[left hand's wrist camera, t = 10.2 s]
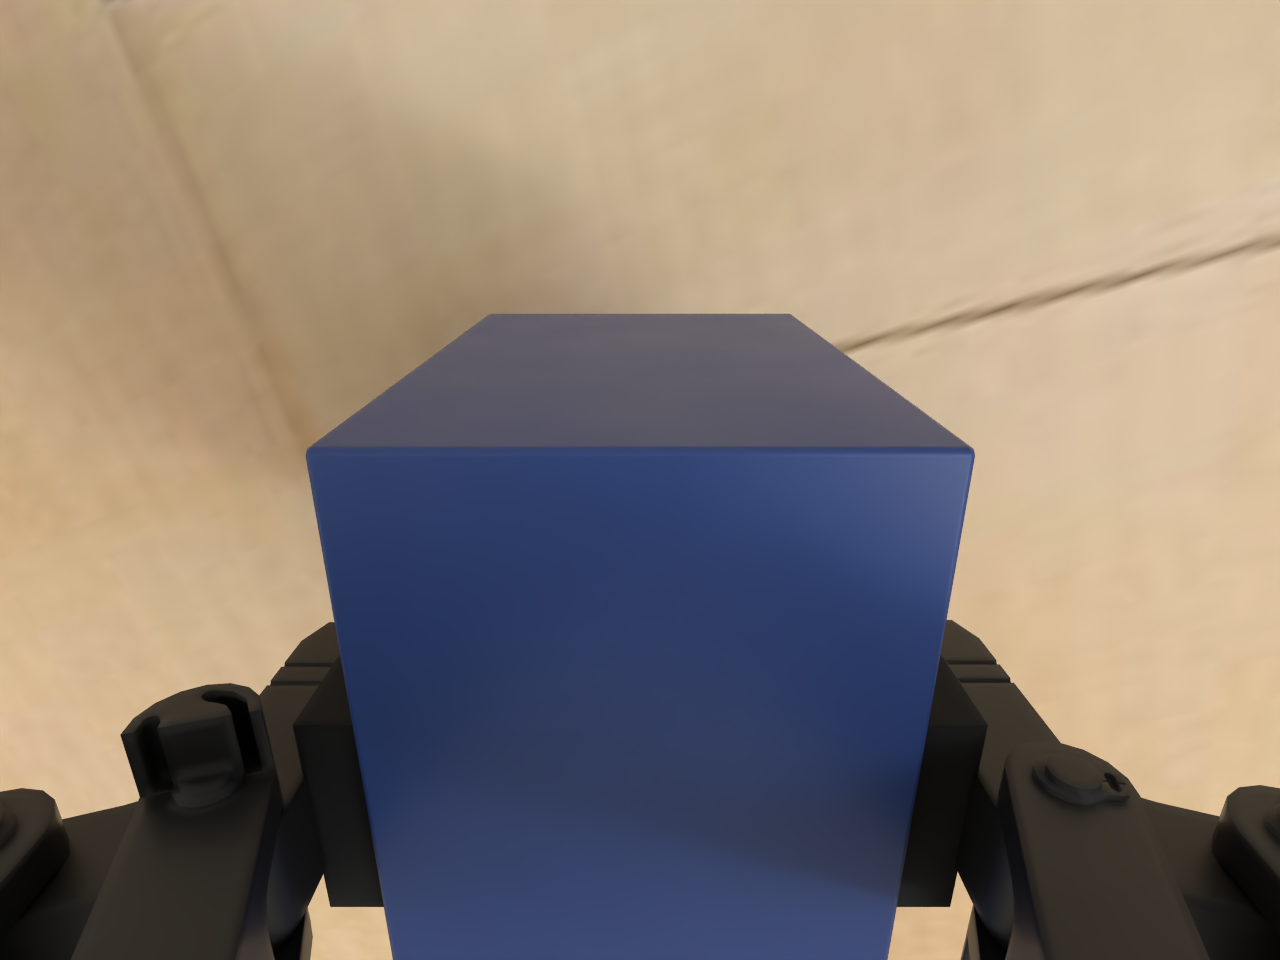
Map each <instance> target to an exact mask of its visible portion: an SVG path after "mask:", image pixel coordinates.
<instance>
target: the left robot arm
mask: <svg viewBox="0 0 1280 960" xmlns="http://www.w3.org/2000/svg"><path fill="white" fill-rule="evenodd" d="M121 738H122V741H123V744H124V748H125V751H126V754H127V757H128V760H129V764H130V767H131V770H132V773H133V776H134V779H135V783H136V786H137V789H138V792H139V795H140V798H139V801H137V802H134V803H131V804H127V805H124V806H119V807H115V808H110V809H106V810H102V811H97V812H93V813H88V814H84V815H80V816H75V817H71V818H66V819H62V818H61V816H60V813H59V810H58V807H57V805H56V802H55V800H54V799H53V798H52V797H51V796H49V795H48V794H47V793H45V792H44V791H43V790H33V789H24V788H20V789H15V790H9V791H3V792H0V960H310V956H311V947H312V938H313V936H312V929H311V921H310V916H309V912H308V908H307V907H308V905H309V903H310V901H311V899H312V897H313V895H314V892H315V890H316V888H317V886H318V884H319V882H320V880H321V878H322V875H323V873H324V878H325V883H326V888H327V893H328V897H329V902H330V907H384V904H383V898H382V893H381V887H380V881H379V875H378V870H377V864H376V858H375V852H374V847H373V841H372V835H371V829H370V823H369V818H368V812H367V806H366V800H365V795H364V789H363V783H362V777H361V771H360V766H359V760H358V754H357V748H356V743H355V737H354V731H353V725H352V719H351V714H350V708H349V702H348V696H347V691H346V685H345V679H344V673H343V667H342V662H341V656H340V650H339V644H338V639H337V633H336V627H335V622H329V623H328V624H326V625H325V626H323V627H322V628H320V629H319V630H317V631H316V632H314V633H313V634H311V635H310V636H308V637H307V638H305V639H304V640H302V641H301V642H300V644H299V645H298V646H297V648H296V649H295V650H294V651H293V653H292V654H291V655H290V657H289V658H288V659H287V660H286V662H285V666H284V667H281V668H280V670H279V671H278V672H277V673H276V675H275V676H274V677H273V679H272V680H271V684H270V685H267V686H266V688H265V689H264V690H263V691H262V693H261V694H260V695H258V694H257V693H255V692H254V691H253V690H252V689H251V688H249V687H245V686H241V685H236V684H231V683H229V684H213V685H205V686H201V687H197V688H193V689H189V690H186V691H182V692H179V693H177V694H175V695H172V696H170V697H168V698H166V699H164V700H161V701H159V702H157V703H155V704H153V705H152V706H151V707H149V708H148V709H146V710H145V711H143V712H142V713H141V714H139V715H138V716H136V717H135V718H134V719H133V720H132V721H131V722H130V724H129V725H128V726H127V727H126V729H125V730H124V731H123V732H122V733H121ZM957 871H958V873H959V875H960V877H961V879H962V881H963V883H964V886H965V888H966V890H967V892H968V894H969V896H970V898H971V900H972V902H973V908H972V912H971V916H970V921H969V925H968V930H967V934H966V939H965V943H964V947H963V952H962V956H961V960H1280V788H1274V787H1268V786H1262V785H1257V786H1248V787H1239V788H1238V789H1236V790H1235V791H1234V792H1232V793H1231V794H1230V795H1229V796H1227V798H1226V801H1225V804H1224V807H1223V809H1222V812H1221V815H1220V817H1219V816H1215V815H1210V814H1206V813H1201V812H1197V811H1193V810H1188V809H1184V808H1179V807H1175V806H1171V805H1166V804H1162V803H1157V802H1154V801H1150V800H1147V799H1144V798H1141V797H1140V795H1139V794H1138V792H1137V791H1136V789H1135V788H1134V787H1133V785H1132V784H1131V782H1130V781H1129V779H1128V778H1127V777H1125V776H1124V775H1123V774H1122V773H1120V772H1119V771H1118V770H1117V769H1115V768H1114V767H1113V766H1112V765H1110V764H1109V763H1108V762H1106V761H1104V760H1102V759H1100V758H1098V757H1096V756H1094V755H1092V754H1091V753H1089V752H1087V751H1085V750H1082V749H1079V748H1075V747H1072V746H1069V745H1065V744H1062V743H1060V741H1059V740H1058V739H1057V738H1056V736H1055V735H1054V734H1053V732H1052V731H1051V730H1050V729H1049V727H1048V726H1047V725H1046V724H1045V722H1044V721H1043V720H1042V718H1041V717H1040V716H1039V715H1038V713H1037V712H1036V711H1035V709H1034V708H1033V707H1032V706H1031V704H1030V703H1029V702H1028V700H1027V699H1026V698H1025V697H1024V695H1023V694H1022V693H1021V691H1020V690H1019V689H1018V688H1017V686H1016V685H1015V684H1014V683H1011V682H1010V677H1009V676H1008V675H1007V673H1006V672H1005V671H1004V670H1003V668H1002V667H1001V666H1000V665H997V664H996V659H995V658H994V657H993V655H992V654H991V653H990V652H989V650H988V649H987V648H986V646H985V645H984V644H983V643H982V641H981V640H980V639H979V638H978V637H976V636H975V635H973V634H972V633H970V632H969V631H967V630H966V629H964V628H963V627H961V626H960V625H958V624H957V623H955V622H954V621H952V620H946V625H945V631H944V636H943V642H942V648H941V654H940V659H939V665H938V671H937V677H936V682H935V688H934V694H933V700H932V705H931V711H930V717H929V723H928V729H927V734H926V740H925V746H924V752H923V757H922V763H921V769H920V775H919V780H918V786H917V792H916V798H915V803H914V809H913V815H912V821H911V826H910V832H909V838H908V844H907V849H906V855H905V861H904V867H903V873H902V878H901V884H900V890H899V896H898V901H897V907H950V904H951V900H952V895H953V890H954V885H955V881H956V876H957Z"/></svg>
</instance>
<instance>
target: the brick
mask: <svg viewBox="0 0 1280 960" xmlns="http://www.w3.org/2000/svg"><path fill="white" fill-rule="evenodd" d="M974 458H975V453H974V450H973V448H972V447H970V446H969V445H968V444H966V443H965V442H963V441H962V440H961V439H959V438H958V437H957V436H955V435H954V434H953V433H951V432H950V431H949V430H947V429H946V428H944V427H943V426H942V425H940V424H939V423H938V422H936V421H935V420H934V419H932V418H931V417H929V416H928V415H927V414H925V413H924V412H923V411H921V410H920V409H919V408H917V407H916V406H915V405H913V404H912V403H910V402H909V401H908V400H906V399H905V398H904V397H902V396H901V395H900V394H898V393H897V392H895V391H894V390H893V389H891V388H890V387H889V386H887V385H886V384H885V383H883V382H882V381H881V380H879V379H878V378H876V377H875V376H874V375H872V374H871V373H870V372H868V371H867V370H866V369H864V368H863V367H861V366H860V365H859V364H857V363H856V362H855V361H853V360H852V359H851V358H849V357H848V356H847V355H845V354H844V353H842V352H841V351H840V350H838V349H837V348H836V347H834V346H833V345H832V344H830V343H829V342H827V341H826V340H825V339H823V338H822V337H821V336H819V335H818V334H817V333H815V332H814V331H813V330H811V329H810V328H808V327H807V326H806V325H804V324H803V323H802V322H800V321H799V320H798V319H796V318H795V317H793V316H792V315H790V314H490V315H488V316H487V317H485V318H484V319H483V320H481V321H480V322H479V323H477V324H476V325H475V326H473V327H472V328H471V329H469V330H468V331H466V332H465V333H464V334H462V335H461V336H460V337H458V338H457V339H456V340H454V341H453V342H452V343H450V344H449V345H447V346H446V347H445V348H443V349H442V350H441V351H439V352H438V353H437V354H435V355H434V356H433V357H431V358H430V359H428V360H427V361H426V362H424V363H423V364H422V365H420V366H419V367H418V368H416V369H415V370H414V371H412V372H411V373H409V374H408V375H407V376H405V377H404V378H403V379H401V380H400V381H399V382H397V383H396V384H395V385H393V386H392V387H390V388H389V389H388V390H386V391H385V392H384V393H382V394H381V395H380V396H378V397H377V398H376V399H374V400H373V401H371V402H370V403H369V404H367V405H366V406H365V407H363V408H362V409H361V410H359V411H358V412H357V413H355V414H354V415H352V416H351V417H350V418H348V419H347V420H346V421H344V422H343V423H342V424H340V425H339V426H338V427H336V428H335V429H333V430H332V431H331V432H329V433H328V434H327V435H325V436H324V437H323V438H321V439H320V440H318V441H317V442H316V443H314V444H313V445H312V446H310V447H309V448H308V449H307V452H306V460H307V465H308V471H309V477H310V483H311V488H312V494H313V500H314V506H315V512H316V517H317V523H318V529H319V535H320V540H321V546H322V552H323V558H324V564H325V569H326V575H327V581H328V587H329V592H330V598H331V604H332V610H333V616H334V621H335V627H336V633H337V639H338V644H339V650H340V656H341V662H342V667H343V673H344V679H345V685H346V691H347V696H348V702H349V708H350V714H351V719H352V725H353V731H354V737H355V743H356V748H357V754H358V760H359V766H360V771H361V777H362V783H363V789H364V795H365V800H366V806H367V812H368V818H369V823H370V829H371V835H372V841H373V847H374V852H375V858H376V864H377V870H378V875H379V881H380V887H381V893H382V898H383V904H384V910H385V916H386V922H387V927H388V933H389V939H390V945H391V950H392V956H393V960H887V959H888V953H889V947H890V942H891V936H892V930H893V924H894V919H895V913H896V907H897V901H898V896H899V890H900V884H901V878H902V873H903V867H904V861H905V855H906V849H907V844H908V838H909V832H910V826H911V821H912V815H913V809H914V803H915V798H916V792H917V786H918V780H919V775H920V769H921V763H922V757H923V752H924V746H925V740H926V734H927V729H928V723H929V717H930V711H931V705H932V700H933V694H934V688H935V682H936V677H937V671H938V665H939V659H940V654H941V648H942V642H943V636H944V631H945V625H946V619H947V613H948V608H949V602H950V596H951V590H952V585H953V579H954V573H955V567H956V561H957V556H958V550H959V544H960V538H961V533H962V527H963V521H964V515H965V510H966V504H967V498H968V492H969V487H970V481H971V475H972V469H973V464H974Z"/></svg>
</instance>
